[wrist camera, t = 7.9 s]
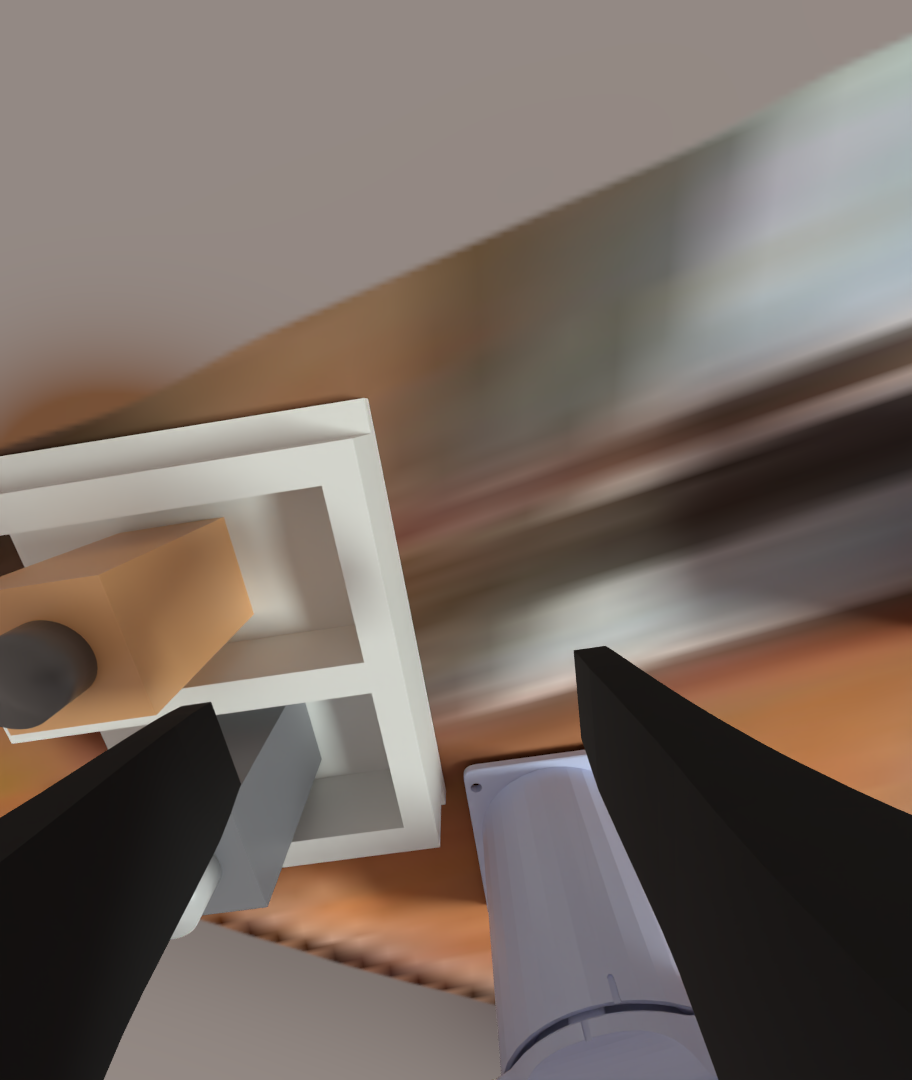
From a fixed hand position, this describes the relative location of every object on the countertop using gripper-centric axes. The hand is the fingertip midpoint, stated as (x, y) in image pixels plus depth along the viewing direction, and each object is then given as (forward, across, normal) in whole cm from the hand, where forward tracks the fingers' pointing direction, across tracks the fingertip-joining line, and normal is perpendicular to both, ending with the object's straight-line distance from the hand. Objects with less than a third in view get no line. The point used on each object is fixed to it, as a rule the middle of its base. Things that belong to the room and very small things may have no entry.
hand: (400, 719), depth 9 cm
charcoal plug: (+9, +8, +6) cm, 13 cm away
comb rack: (+9, +8, +2) cm, 13 cm away
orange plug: (+9, +9, -1) cm, 13 cm away
